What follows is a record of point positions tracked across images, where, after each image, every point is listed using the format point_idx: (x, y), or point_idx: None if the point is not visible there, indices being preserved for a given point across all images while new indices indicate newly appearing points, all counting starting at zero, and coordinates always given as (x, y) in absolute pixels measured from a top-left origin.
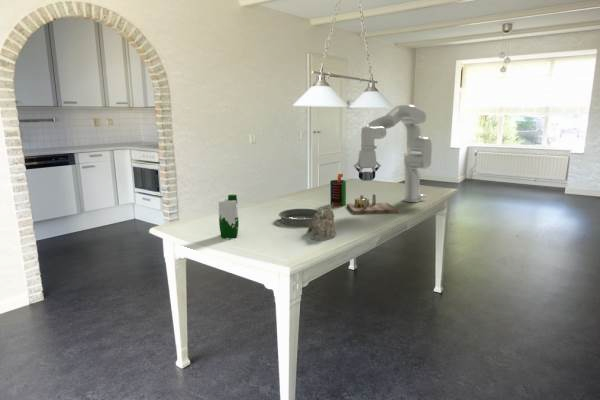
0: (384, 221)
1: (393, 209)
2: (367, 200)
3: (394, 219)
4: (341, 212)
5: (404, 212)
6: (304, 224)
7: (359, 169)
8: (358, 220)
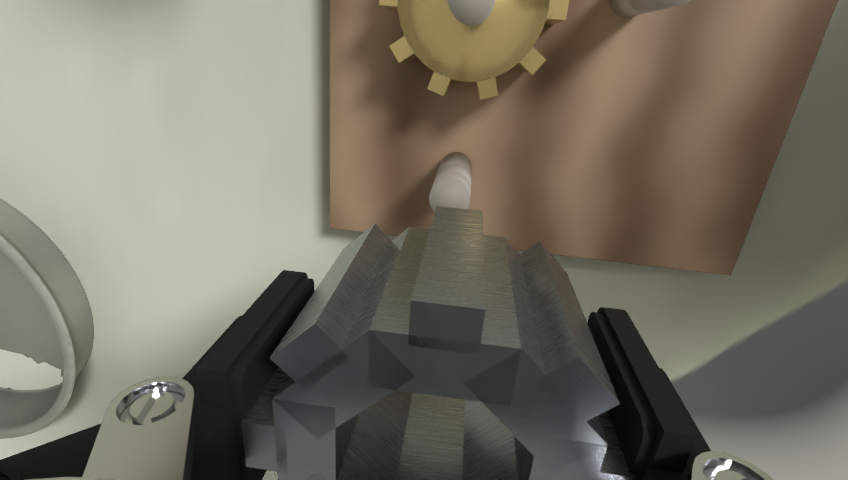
0: None
1: (696, 264)
2: (524, 66)
3: None
4: (249, 125)
5: (788, 262)
6: (11, 398)
7: (120, 477)
8: None
